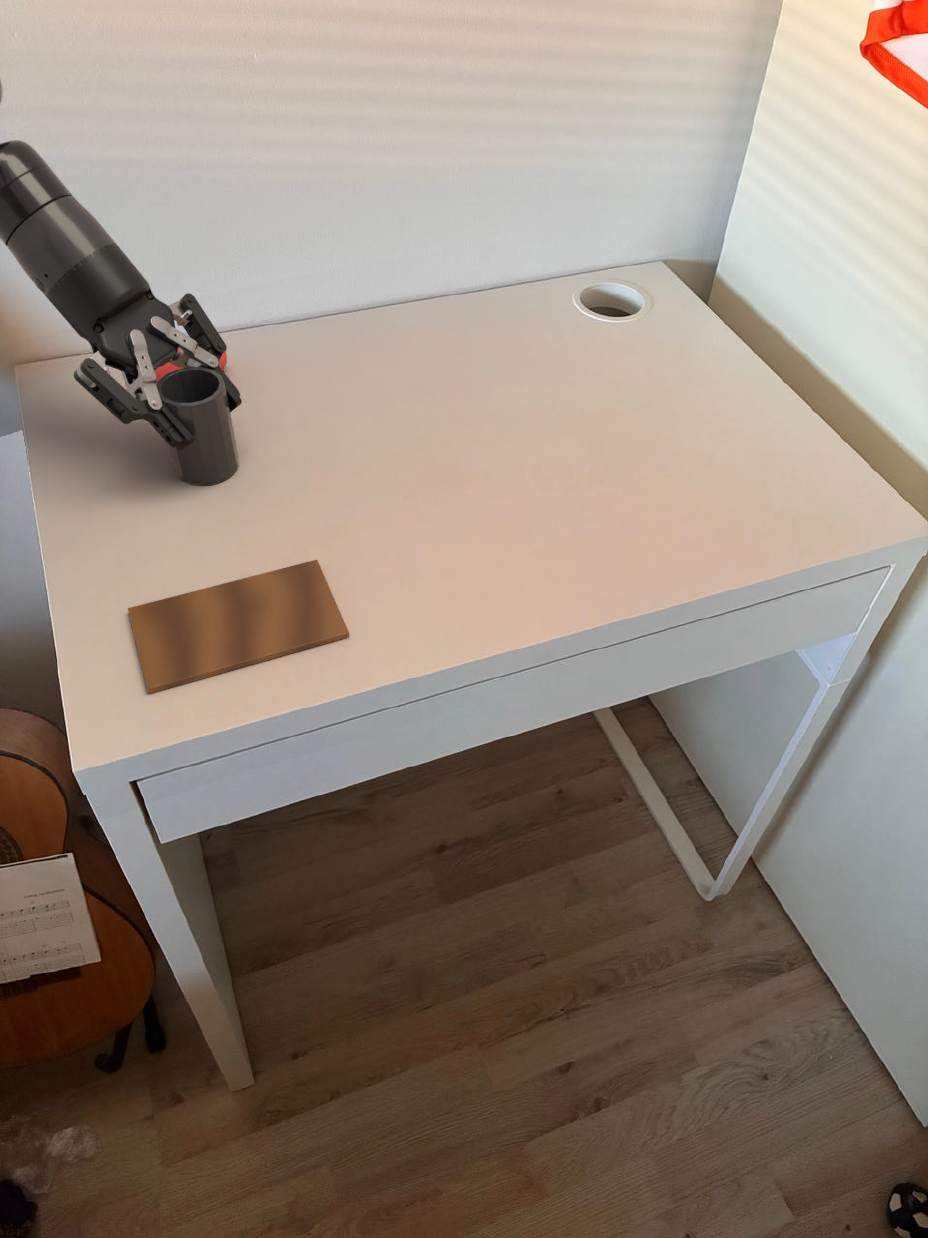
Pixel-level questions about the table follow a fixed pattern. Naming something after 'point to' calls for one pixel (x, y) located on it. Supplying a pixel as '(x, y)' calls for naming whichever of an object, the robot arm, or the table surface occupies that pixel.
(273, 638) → the plate
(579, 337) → the table surface
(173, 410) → the open gray tube
